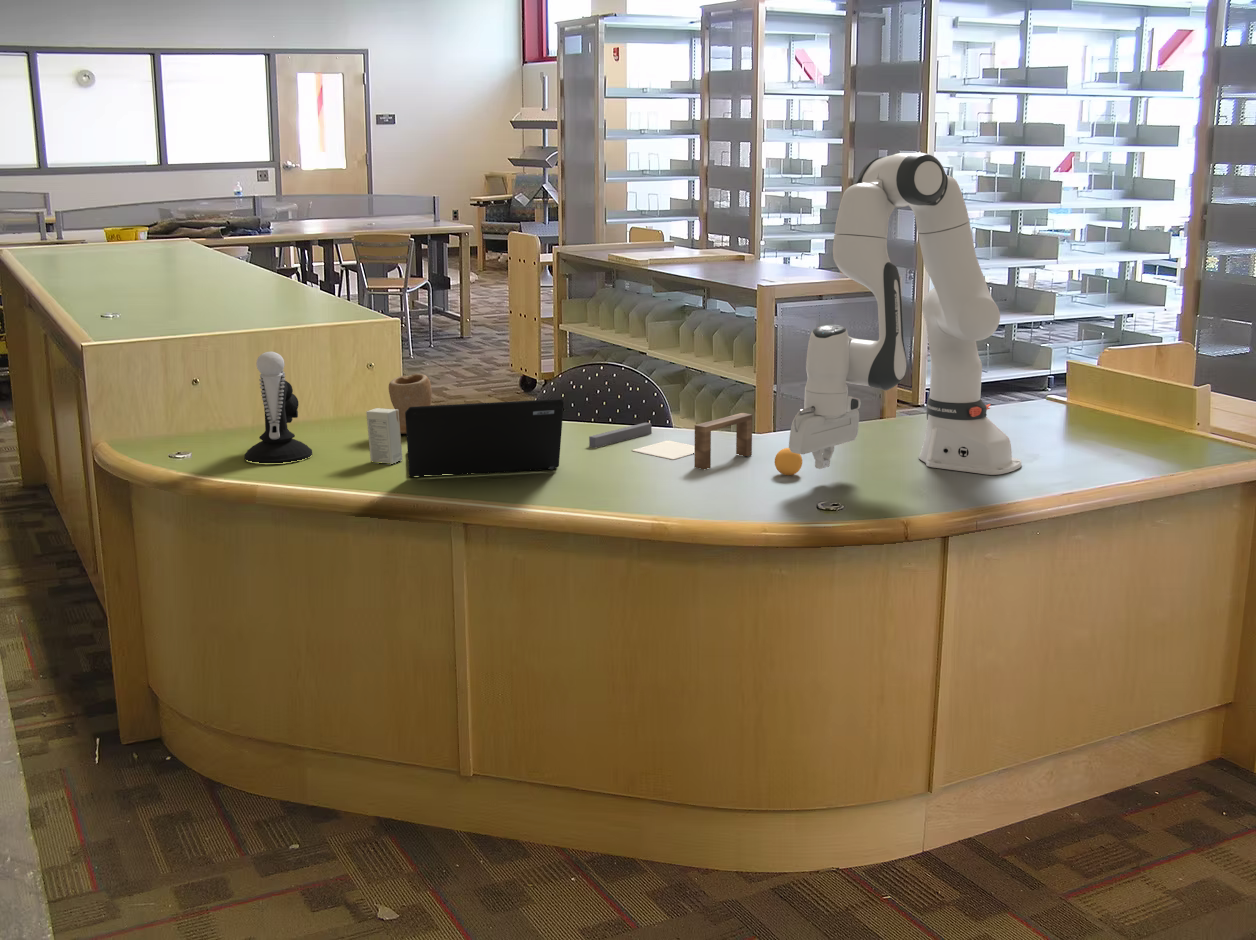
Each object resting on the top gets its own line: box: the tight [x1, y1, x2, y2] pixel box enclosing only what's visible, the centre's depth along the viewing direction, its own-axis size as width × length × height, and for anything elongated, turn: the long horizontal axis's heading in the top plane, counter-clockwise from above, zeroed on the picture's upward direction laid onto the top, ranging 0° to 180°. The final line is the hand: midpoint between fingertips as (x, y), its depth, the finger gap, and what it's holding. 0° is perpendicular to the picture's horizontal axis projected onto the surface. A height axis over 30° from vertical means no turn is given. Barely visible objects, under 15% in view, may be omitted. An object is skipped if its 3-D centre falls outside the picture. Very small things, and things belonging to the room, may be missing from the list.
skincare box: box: [365, 407, 403, 465], centre depth 288 cm, size 6×4×12 cm
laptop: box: [405, 398, 564, 477], centre depth 281 cm, size 33×38×19 cm
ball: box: [774, 447, 803, 476], centre depth 274 cm, size 6×6×6 cm
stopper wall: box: [588, 421, 653, 449], centre depth 308 cm, size 2×20×2 cm, turn 137°
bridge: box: [694, 412, 753, 470], centre depth 286 cm, size 3×17×10 cm, turn 137°
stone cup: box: [388, 373, 433, 435], centre depth 315 cm, size 15×12×15 cm
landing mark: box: [631, 439, 695, 461], centre depth 298 cm, size 13×13×1 cm
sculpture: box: [244, 351, 313, 463], centre depth 295 cm, size 15×24×25 cm, turn 6°
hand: (822, 467), depth 268 cm, fingers closed
